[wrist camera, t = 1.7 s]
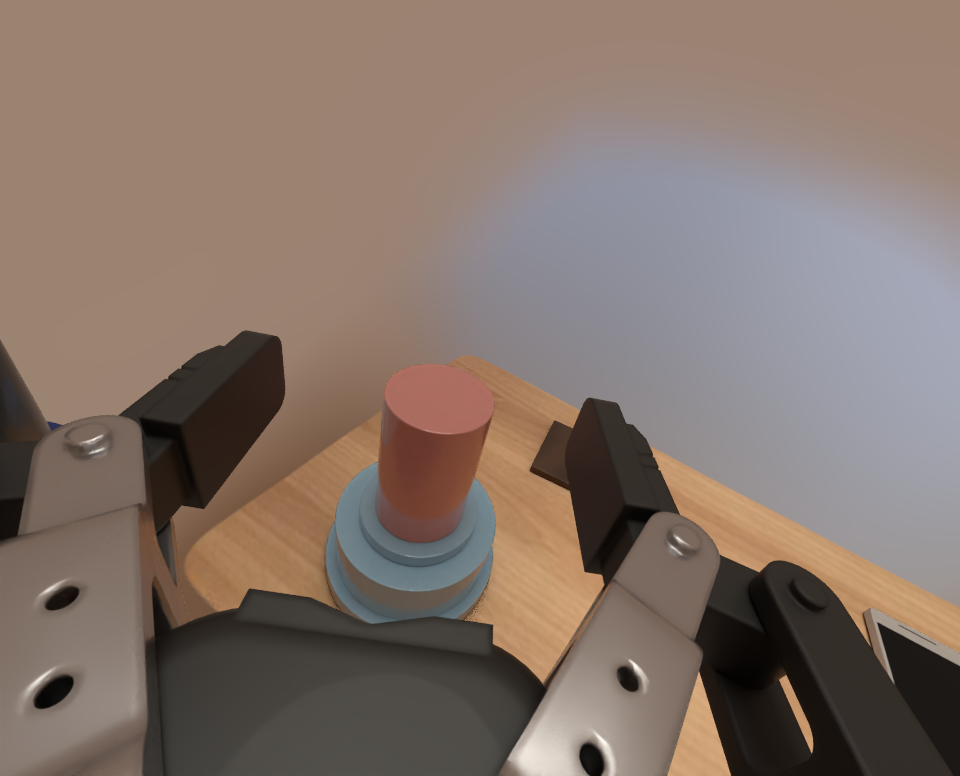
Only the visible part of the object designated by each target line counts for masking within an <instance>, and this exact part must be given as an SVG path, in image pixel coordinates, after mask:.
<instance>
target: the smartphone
mask: <svg viewBox="0 0 960 776" xmlns="http://www.w3.org/2000/svg"><path fill="white" fill-rule="evenodd" d="M864 616H865V620H866V624H867V627H868V631H869V635H870V639H871V642H872V646H873V650H874V653H875V655H876V656H877V658H878V660H879V661H880V663H881V664H882V666H883V667H884V669H885V670H886V672H887V673H888V675H889V677H890V678H891V680H892V681H893V683H894V684H895V686H896V687H897V689H898V690H899V692H900V694H901V695H902V697H903V698H904V700H905V701H906V703H907V704H908V706H909V707H910V709H911V711H912V712H913V714H914V715H915V717H916V718H917V720H918V721H919V723H920V724H921V726H922V727H923V729H924V731H925V732H926V734H927V735H928V737H929V738H930V740H931V741H932V743H933V744H934V746H935V748H936V749H937V751H938V752H939V754H940V755H941V757H942V758H943V760H944V761H945V763H946V765H947V766H948V768H949V769H950V771H951V772H952V774H953V775H954V776H960V653H959V652H957V651H955V650H953V649H951V648H949V647H947V646H945V645H943V644H942V643H940V642H938V641H936V640H934V639H932V638H930V637H928V636H926V635H924V634H922V633H921V632H919V631H917V630H915V629H913V628H911V627H909V626H907V625H905V624H903V623H902V622H900V621H898V620H896V619H894V618H892V617H890V616H888V615H886V614H884V613H882V612H881V611H879V610H877V609H875V608H873V607H871V608H869V609H868V610H866V611H865V612H864Z"/></svg>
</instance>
